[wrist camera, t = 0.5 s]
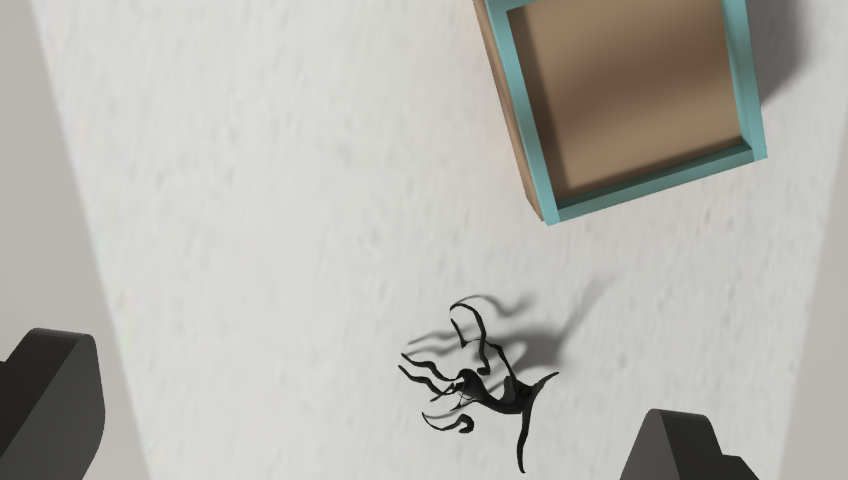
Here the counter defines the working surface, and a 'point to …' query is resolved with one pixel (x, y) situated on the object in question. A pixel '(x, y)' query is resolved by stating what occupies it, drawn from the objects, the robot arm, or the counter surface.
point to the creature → (515, 392)
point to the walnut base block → (621, 96)
